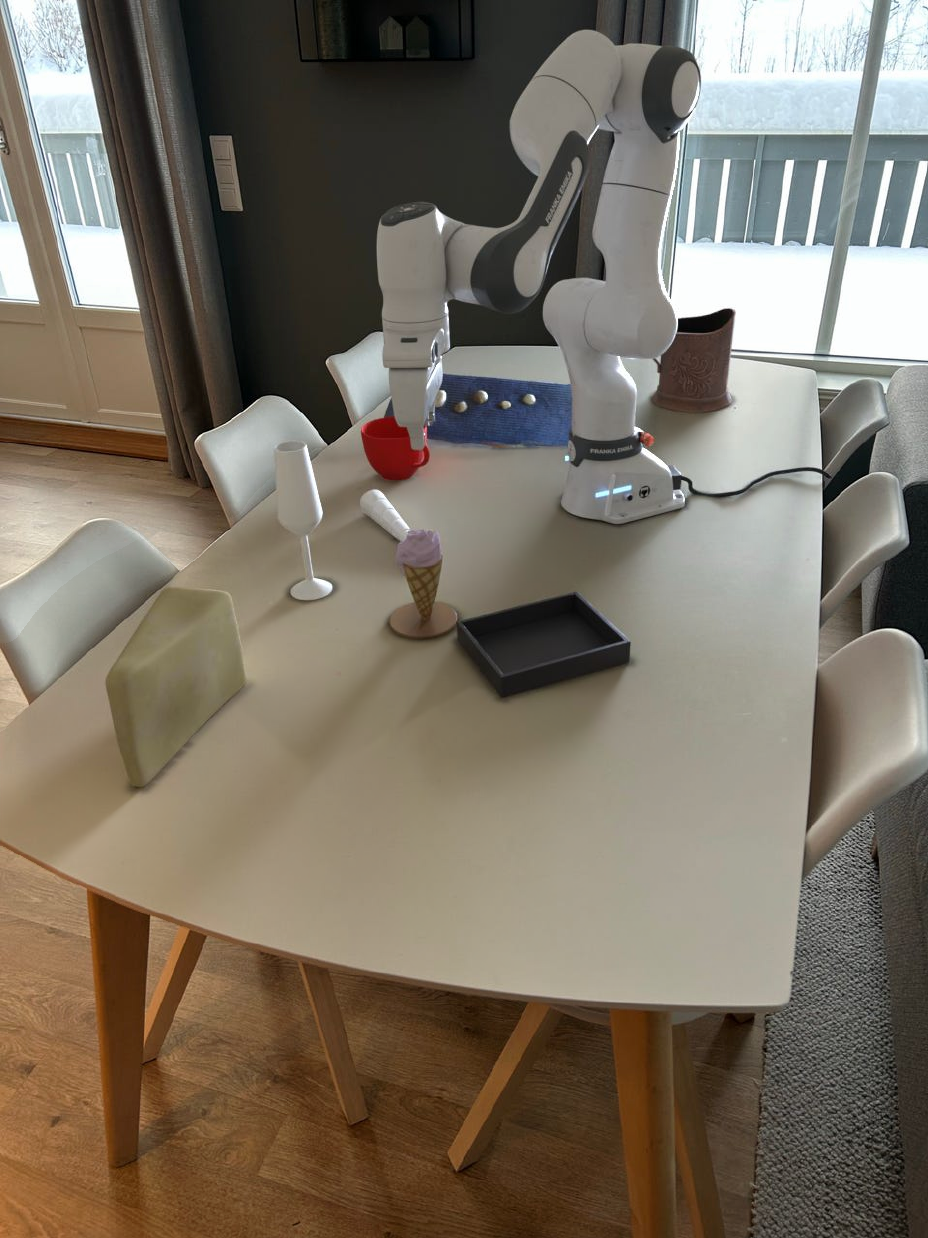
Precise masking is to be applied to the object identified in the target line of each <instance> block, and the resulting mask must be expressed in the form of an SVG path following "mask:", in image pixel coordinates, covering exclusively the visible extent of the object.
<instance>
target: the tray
mask: <svg viewBox="0 0 928 1238" xmlns="http://www.w3.org/2000/svg"><path fill="white" fill-rule="evenodd" d="M456 637H457V638H456V639H457V643H458V644H459V645H460V646H461V648H462V649H463V650H464V651H465V653H466V654H467V656H468V657H469V658H470V659H471V661H472V662H473V663H474V665H475V666H476V667H477V669H478V670H479V671H480V672H481V674H482V675H483V677H485V679H486V681H488V683H489V684H490V685H491V687H492V688H493V689H494V691H495V692H496V693H497V695H498V696H499V697H500V698H501V699H504V698H508V697H511V696H515V695H519V694H521V693H525V692H529V691H531V690H535V689H539V688H543V687H546V686H549V685H554V684H557V683H561V682H564V681H567V680H570V679H574V678H578V677H581V676H584V675H588V674H592V673H595V672H599V671H601V670H605V669H609V668H612V667H616V666H619V665H623V664H627V663H630V657H631V645H632V643H631V640H629V638H627V636H626V635H624V633H622V632H621V631H620V630H619V629H618V628H617V627H616V626H614V625H613V623H611V622H610V621H609V620H608V619H607V618H606V617H605V616H603V614H602V613H600V611H598V609H596V608H595V607H594V606H593V605H592V604H591V603H590V602H589V601H588V600H587V599H585V597H583V596H582V595H581V594H580V592H578V591H577V590H575V591H573V592H567V593H564V594H560V595H557V596H553V597H552V596H551V597H549V598H545V599H540V600H537V601H533V602H529V603H525V604H521V605H517V606H513V607H508V608H504V609H500V610H497V611H493V612H488V613H485V614H481V615H476V616H473V617H468V618H465V619H462V620H457V622H456Z"/></svg>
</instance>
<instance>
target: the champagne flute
mask: <svg viewBox="0 0 928 1238" xmlns="http://www.w3.org/2000/svg"><path fill="white" fill-rule="evenodd" d="M307 445H308V444H307V443H306V442H305V441H302V440H284V441H282V442H278V443H277V444H275V445H274V446H273V458H274V473H275V474H274V475H275V478H274V479H275V490H276V494H275V495H276V510H277V520H278V521H279V523H280V525H282V527H283V528H285V529H286V530H287V531H288V532H290V533H292V534H293V535H295V536H298V537H299V541H300V549H301V553H302V554H301V555H302V560H303V561H302V562H303V568H304V574H305V579H304V580H302V581H300V582H298V583H296V584H294V585H293V586H292V587H291V589H290V595H291V596H292V597H293V598H294V599H296V600H300V601H314V600H318V599H321V598H324V597H326V596H328V595H330V594H331V592H332V591H333V585H332V583H331V582H329V581H327V580H324V579H320V578H316V577H314V572H313V565H312V558H311V551H310V544H309V538H308V537H309V536H308V535H310V534H311V533H313V531H314V530H315V529H316V528H317V527H318V525H319V524H320V522H321V520H322V518H323V508H322V504H321V501H320V496H319V492H318V488H317V483H316V479H315V475H314V470H313V467H312V462H311V458H310V454H309V450H308V446H307Z"/></svg>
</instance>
